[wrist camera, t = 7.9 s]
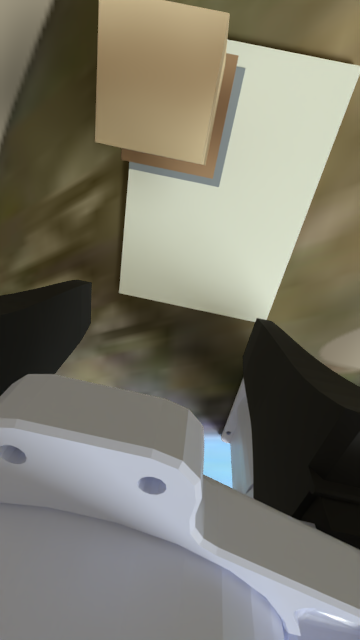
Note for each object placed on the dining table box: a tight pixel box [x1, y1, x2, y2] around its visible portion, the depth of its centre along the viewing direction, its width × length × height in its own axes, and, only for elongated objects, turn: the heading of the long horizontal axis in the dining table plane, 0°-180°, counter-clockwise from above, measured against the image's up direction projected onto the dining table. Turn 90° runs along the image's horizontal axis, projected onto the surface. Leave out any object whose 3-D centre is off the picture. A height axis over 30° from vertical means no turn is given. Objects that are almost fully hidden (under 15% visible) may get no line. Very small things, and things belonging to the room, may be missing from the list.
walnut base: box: [121, 53, 239, 179], centre depth 15 cm, size 5×5×4 cm
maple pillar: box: [95, 0, 230, 165], centre depth 12 cm, size 4×4×5 cm
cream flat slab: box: [119, 39, 360, 322], centre depth 19 cm, size 16×12×1 cm
